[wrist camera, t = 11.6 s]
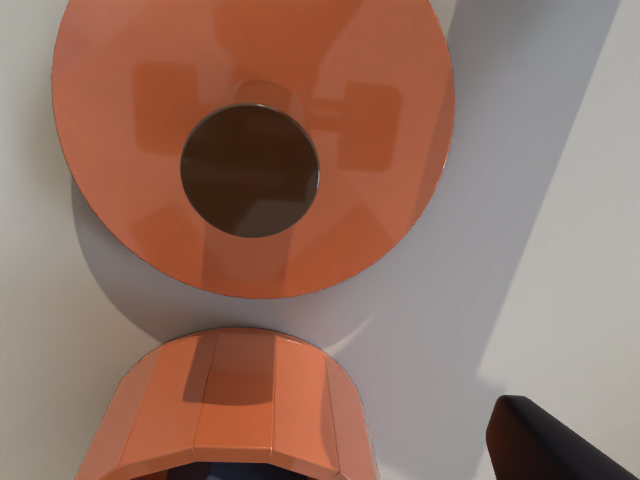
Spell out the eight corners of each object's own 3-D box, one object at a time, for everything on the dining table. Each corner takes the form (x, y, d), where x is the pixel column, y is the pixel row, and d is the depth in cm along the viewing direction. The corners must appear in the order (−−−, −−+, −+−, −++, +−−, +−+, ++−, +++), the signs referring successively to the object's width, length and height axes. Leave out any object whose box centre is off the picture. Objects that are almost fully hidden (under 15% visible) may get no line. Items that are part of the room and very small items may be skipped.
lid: (83, 273, 18) (-15, 390, 12) (43, -141, 13) (-167, -296, 7) (404, 296, 20) (458, 409, 14) (488, -64, 14) (634, -135, 8)
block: (173, 448, 22) (147, 545, 18) (223, 386, 21) (208, 475, 16) (253, 482, 23) (247, 580, 19) (305, 425, 22) (311, 517, 18)
